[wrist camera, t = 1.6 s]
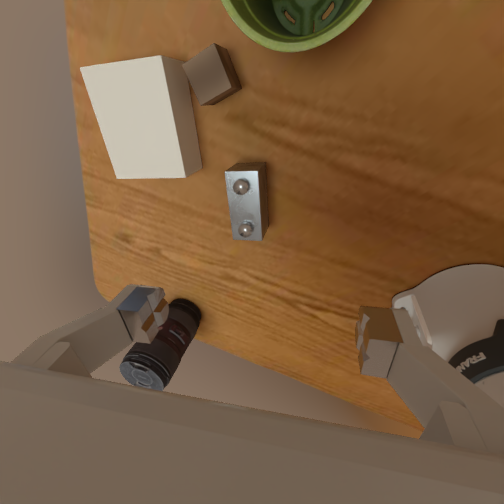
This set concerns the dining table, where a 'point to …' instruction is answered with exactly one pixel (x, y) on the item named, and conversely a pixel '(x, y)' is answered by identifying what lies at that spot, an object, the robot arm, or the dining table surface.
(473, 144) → the dining table surface
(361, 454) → the robot arm
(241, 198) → the block
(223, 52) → the walnut block
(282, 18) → the plant pot
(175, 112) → the stand
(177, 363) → the camera lens
